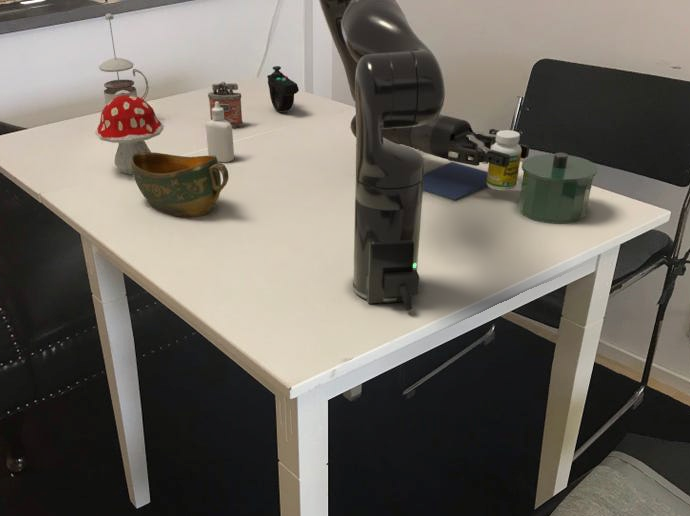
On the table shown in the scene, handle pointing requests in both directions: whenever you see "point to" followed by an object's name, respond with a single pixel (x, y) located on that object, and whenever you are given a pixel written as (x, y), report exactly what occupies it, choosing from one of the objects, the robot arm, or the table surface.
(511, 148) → the supplement bottle
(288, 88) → the controller
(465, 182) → the flat panel
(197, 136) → the table surface
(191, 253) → the table surface
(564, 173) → the pot lid
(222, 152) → the eye dropper bottle
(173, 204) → the cup
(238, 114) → the lighter
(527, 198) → the pot
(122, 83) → the french press
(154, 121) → the decorative mushroom
